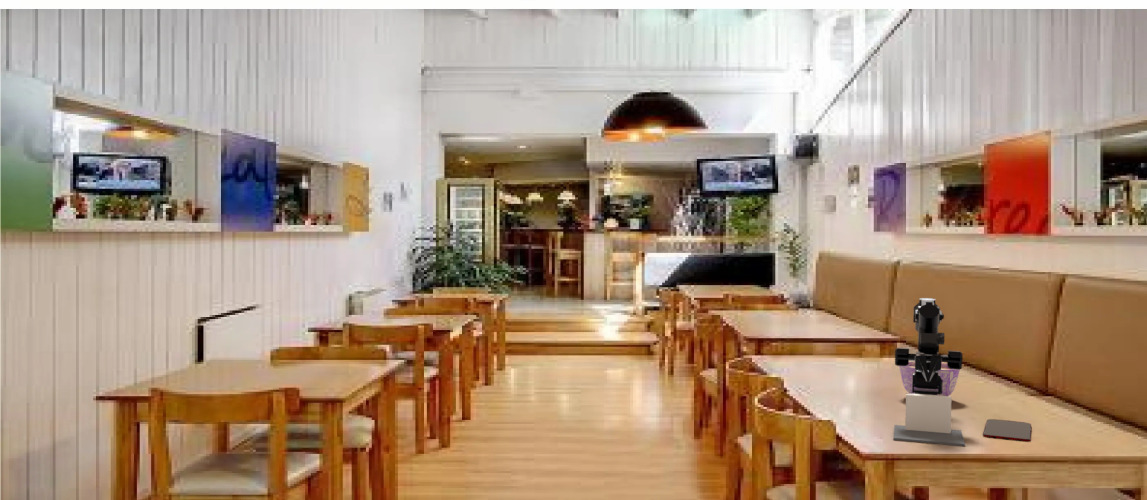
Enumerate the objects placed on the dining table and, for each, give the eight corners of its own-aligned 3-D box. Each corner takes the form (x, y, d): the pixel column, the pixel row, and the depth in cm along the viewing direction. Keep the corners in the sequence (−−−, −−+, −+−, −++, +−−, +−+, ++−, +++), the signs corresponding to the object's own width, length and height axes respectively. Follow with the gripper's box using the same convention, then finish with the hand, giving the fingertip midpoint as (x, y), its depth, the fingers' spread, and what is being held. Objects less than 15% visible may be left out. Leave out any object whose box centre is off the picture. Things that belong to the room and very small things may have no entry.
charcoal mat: (894, 426, 265) (894, 424, 265) (961, 432, 259) (961, 430, 259) (893, 440, 248) (893, 437, 248) (964, 446, 241) (964, 444, 241)
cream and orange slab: (905, 427, 262) (906, 393, 262) (950, 431, 258) (950, 396, 258) (905, 429, 259) (906, 394, 259) (950, 433, 255) (951, 398, 255)
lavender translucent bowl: (969, 404, 305) (970, 370, 304) (909, 403, 305) (910, 369, 305) (945, 394, 325) (946, 362, 324) (889, 393, 325) (890, 361, 325)
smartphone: (981, 434, 254) (986, 418, 276) (981, 439, 254) (986, 423, 276) (1030, 439, 248) (1031, 422, 270) (1030, 445, 248) (1031, 427, 270)
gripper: (895, 321, 274) (894, 362, 263) (962, 324, 267) (964, 366, 257) (895, 344, 281) (894, 385, 271) (960, 347, 275) (962, 389, 264)
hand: (928, 381), depth 266 cm, fingers closed
